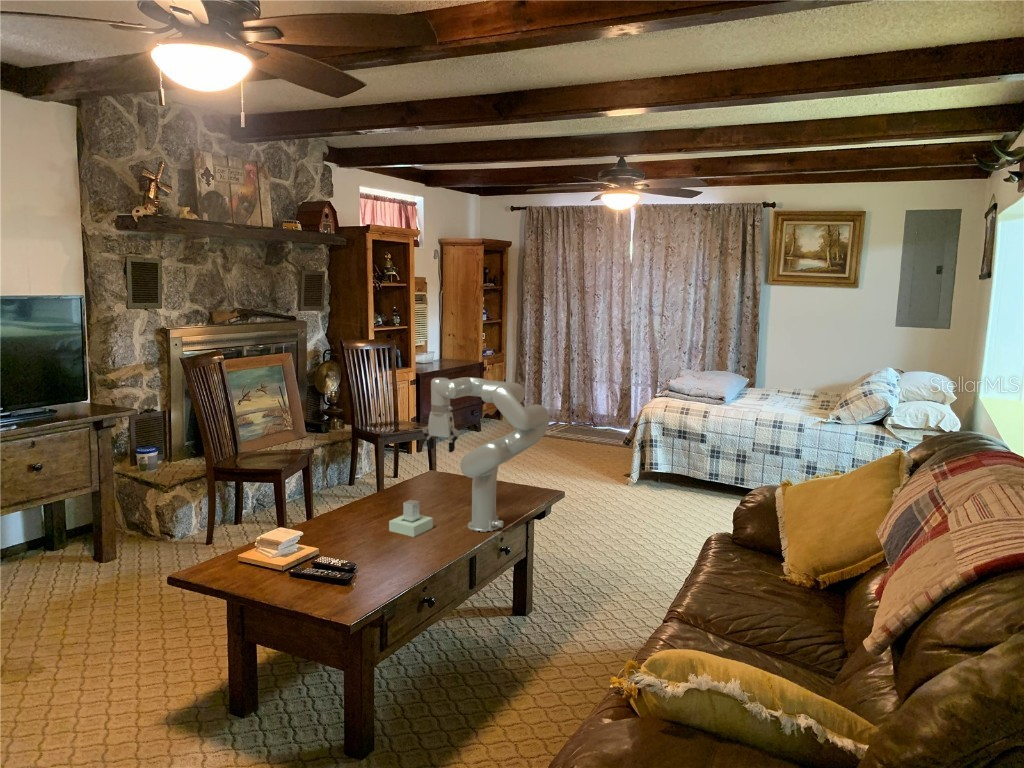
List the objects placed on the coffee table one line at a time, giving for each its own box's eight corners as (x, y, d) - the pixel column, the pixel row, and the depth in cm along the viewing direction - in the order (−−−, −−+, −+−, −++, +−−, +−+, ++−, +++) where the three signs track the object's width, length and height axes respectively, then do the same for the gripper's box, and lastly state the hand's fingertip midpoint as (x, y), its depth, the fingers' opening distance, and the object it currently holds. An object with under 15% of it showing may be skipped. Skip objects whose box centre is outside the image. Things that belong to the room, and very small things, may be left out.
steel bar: (419, 528, 281) (419, 501, 279) (412, 532, 277) (412, 504, 275) (410, 526, 283) (410, 499, 281) (403, 530, 279) (403, 502, 277)
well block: (432, 527, 282) (432, 517, 281) (413, 536, 272) (413, 526, 271) (408, 522, 288) (408, 512, 287) (389, 530, 278) (389, 521, 277)
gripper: (464, 408, 287) (464, 450, 290) (427, 405, 295) (428, 446, 297) (454, 411, 281) (455, 454, 283) (417, 408, 288) (418, 450, 291)
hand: (441, 450), depth 290 cm, fingers open, 9 cm apart
